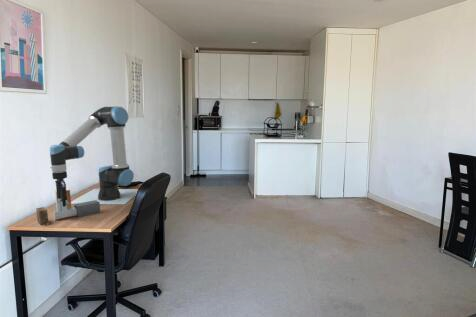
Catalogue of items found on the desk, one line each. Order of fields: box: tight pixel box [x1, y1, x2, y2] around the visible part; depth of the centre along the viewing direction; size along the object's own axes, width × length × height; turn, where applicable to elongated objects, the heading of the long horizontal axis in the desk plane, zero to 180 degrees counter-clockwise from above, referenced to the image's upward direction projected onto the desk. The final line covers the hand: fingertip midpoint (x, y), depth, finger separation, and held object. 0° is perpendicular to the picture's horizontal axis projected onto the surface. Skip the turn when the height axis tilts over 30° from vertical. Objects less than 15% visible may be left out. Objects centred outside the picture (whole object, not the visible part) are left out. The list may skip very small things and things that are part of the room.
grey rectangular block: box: [73, 199, 101, 218], centre depth 213 cm, size 13×7×7 cm, turn 130°
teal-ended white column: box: [52, 201, 78, 220], centre depth 207 cm, size 19×5×9 cm, turn 130°
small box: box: [54, 187, 72, 210], centre depth 223 cm, size 8×6×13 cm
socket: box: [35, 206, 49, 226], centre depth 198 cm, size 4×8×8 cm, turn 40°
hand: (63, 210), depth 205 cm, fingers closed on teal-ended white column, 5 cm apart
